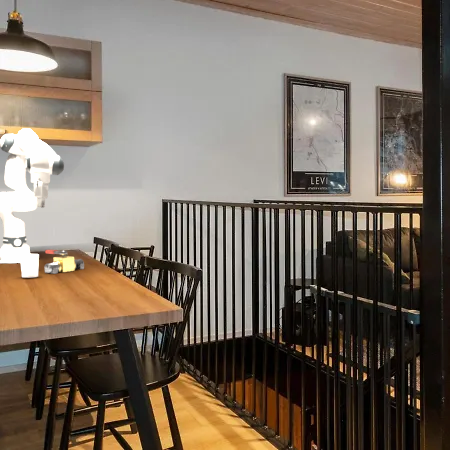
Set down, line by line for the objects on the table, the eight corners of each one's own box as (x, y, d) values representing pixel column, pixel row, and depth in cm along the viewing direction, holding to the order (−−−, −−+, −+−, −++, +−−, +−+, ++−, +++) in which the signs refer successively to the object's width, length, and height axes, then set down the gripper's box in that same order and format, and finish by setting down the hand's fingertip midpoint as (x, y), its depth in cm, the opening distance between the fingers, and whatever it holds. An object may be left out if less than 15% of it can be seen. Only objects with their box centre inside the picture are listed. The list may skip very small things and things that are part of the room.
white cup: (32, 278, 210) (32, 256, 210) (16, 277, 212) (16, 255, 211) (42, 275, 218) (42, 254, 218) (27, 275, 220) (26, 253, 219)
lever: (68, 254, 232) (68, 251, 232) (63, 255, 229) (63, 251, 229) (50, 252, 239) (50, 249, 239) (45, 253, 236) (45, 250, 236)
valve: (52, 275, 222) (52, 257, 221) (43, 274, 225) (42, 256, 225) (85, 269, 239) (85, 253, 238) (76, 268, 242) (76, 252, 242)
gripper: (44, 177, 222) (44, 207, 222) (50, 180, 242) (50, 207, 242) (29, 177, 221) (30, 207, 221) (36, 180, 241) (37, 207, 241)
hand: (41, 207), depth 232 cm, fingers open, 8 cm apart
